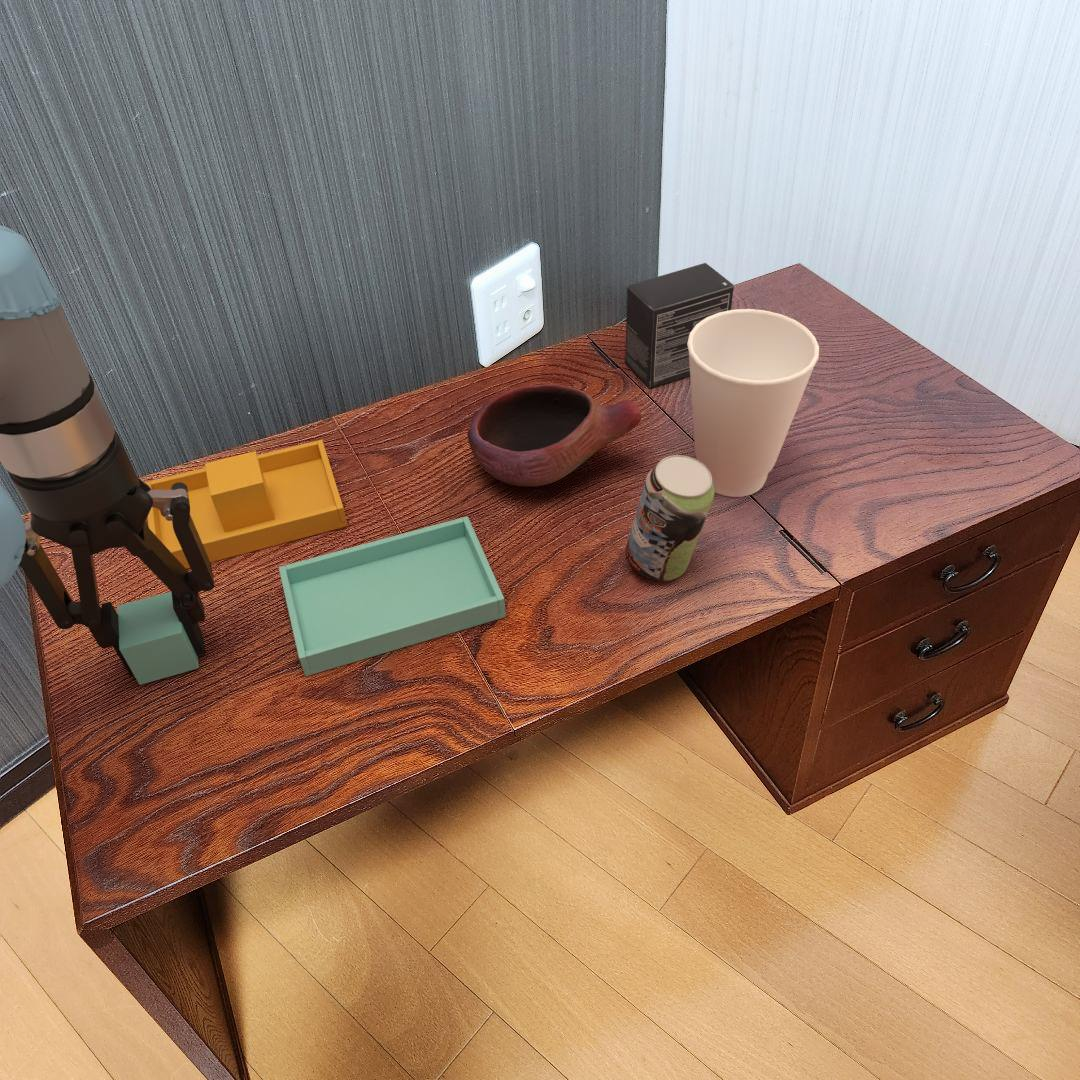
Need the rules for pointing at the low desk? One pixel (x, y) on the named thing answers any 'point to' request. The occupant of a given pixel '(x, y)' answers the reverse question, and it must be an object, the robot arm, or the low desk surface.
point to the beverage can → (669, 517)
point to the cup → (746, 392)
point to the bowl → (544, 432)
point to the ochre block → (239, 491)
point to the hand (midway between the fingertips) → (166, 652)
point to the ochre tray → (295, 494)
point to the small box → (670, 320)
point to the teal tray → (389, 594)
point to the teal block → (154, 639)
